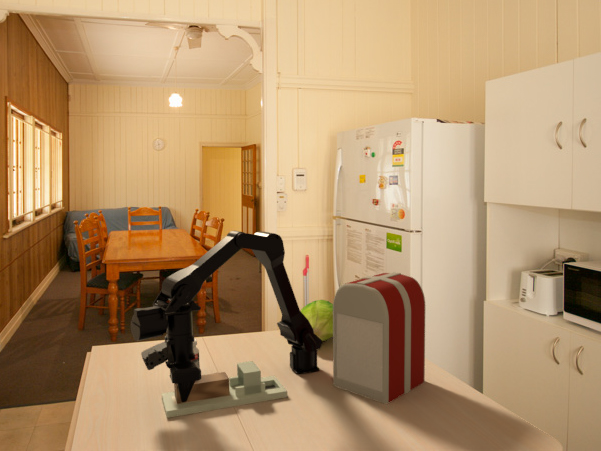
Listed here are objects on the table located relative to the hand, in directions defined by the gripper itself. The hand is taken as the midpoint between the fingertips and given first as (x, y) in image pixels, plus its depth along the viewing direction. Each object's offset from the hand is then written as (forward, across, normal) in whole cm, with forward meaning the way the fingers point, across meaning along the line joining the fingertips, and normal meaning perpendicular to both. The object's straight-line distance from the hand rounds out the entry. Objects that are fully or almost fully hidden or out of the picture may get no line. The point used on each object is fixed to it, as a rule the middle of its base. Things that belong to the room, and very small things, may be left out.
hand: (182, 397), depth 123 cm
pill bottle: (+2, -16, +4) cm, 17 cm away
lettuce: (+2, -30, +46) cm, 55 cm away
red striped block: (+2, +6, +48) cm, 48 cm away
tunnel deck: (+2, 0, +10) cm, 10 cm away
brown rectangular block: (0, 0, +4) cm, 5 cm away
